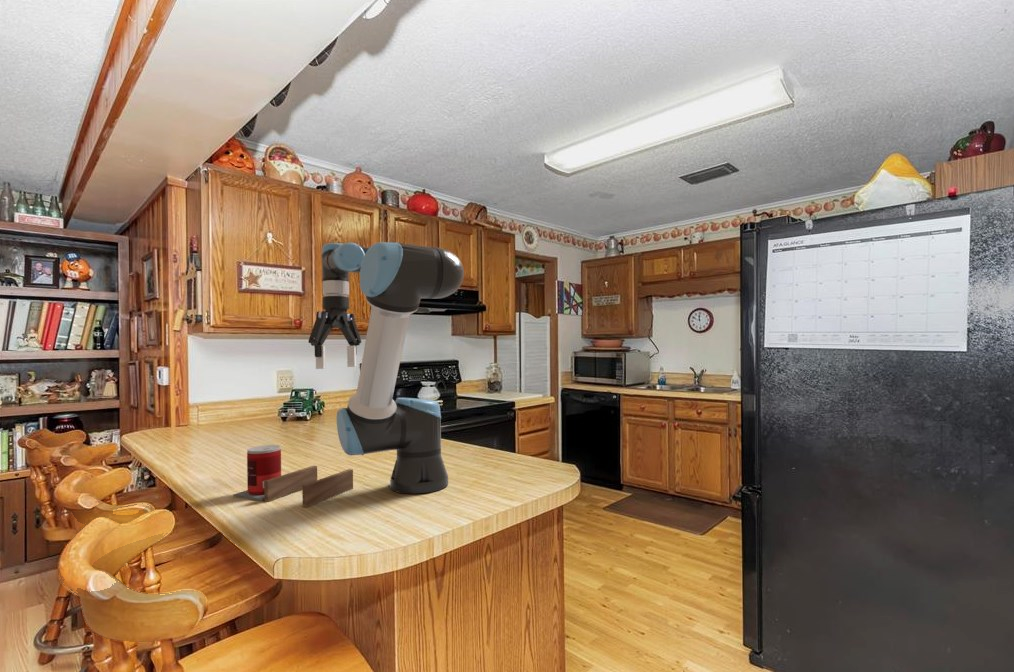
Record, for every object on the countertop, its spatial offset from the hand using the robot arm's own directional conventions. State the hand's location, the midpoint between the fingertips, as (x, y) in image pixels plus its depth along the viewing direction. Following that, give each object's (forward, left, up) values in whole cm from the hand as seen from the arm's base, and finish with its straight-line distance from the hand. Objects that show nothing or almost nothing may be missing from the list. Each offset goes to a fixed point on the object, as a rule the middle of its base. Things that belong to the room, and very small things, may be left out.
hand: (336, 367), depth 145 cm
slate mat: (+4, +22, -31) cm, 38 cm away
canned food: (+4, +22, -31) cm, 38 cm away
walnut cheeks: (-8, +19, -31) cm, 38 cm away
